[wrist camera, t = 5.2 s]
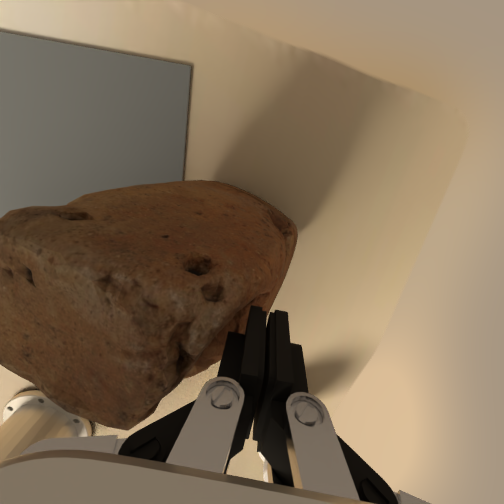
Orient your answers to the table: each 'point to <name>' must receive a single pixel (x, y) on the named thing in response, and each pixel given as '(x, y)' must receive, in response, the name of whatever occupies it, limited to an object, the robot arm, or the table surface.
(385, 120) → the table surface
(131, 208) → the block
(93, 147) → the mat
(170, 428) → the robot arm
